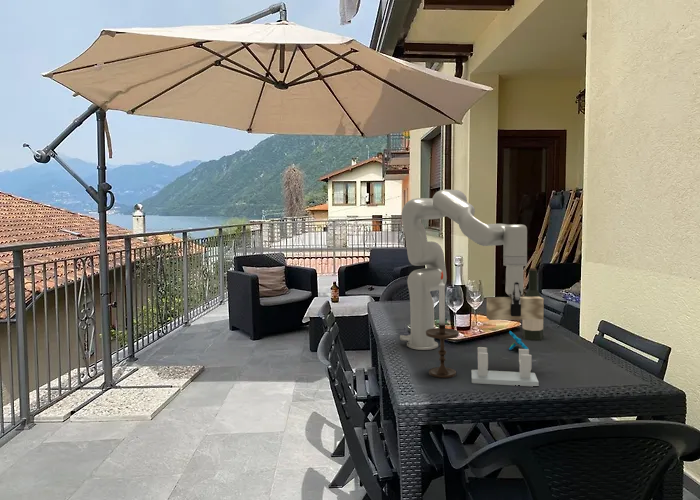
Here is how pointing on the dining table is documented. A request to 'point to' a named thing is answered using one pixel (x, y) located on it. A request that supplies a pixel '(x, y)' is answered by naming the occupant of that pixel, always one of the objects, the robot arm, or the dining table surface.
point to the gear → (516, 341)
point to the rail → (502, 308)
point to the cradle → (503, 376)
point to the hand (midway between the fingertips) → (514, 313)
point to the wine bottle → (532, 327)
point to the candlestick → (442, 337)
